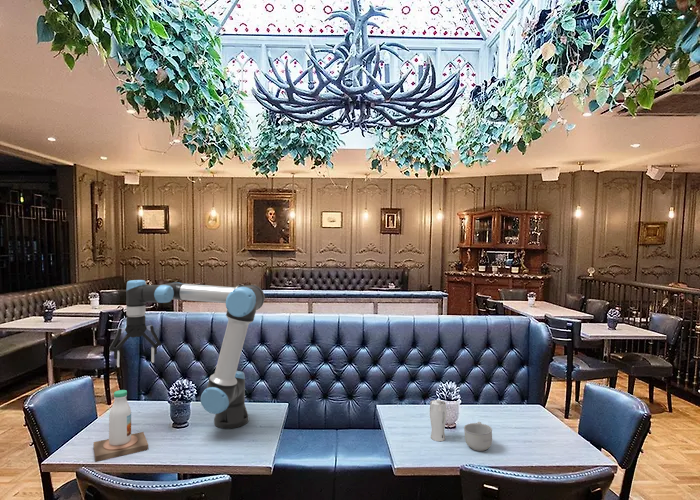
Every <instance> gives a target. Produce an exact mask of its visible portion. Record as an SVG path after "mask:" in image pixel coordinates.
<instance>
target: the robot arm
mask: <svg viewBox="0 0 700 500" xmlns="http://www.w3.org/2000/svg"><path fill="white" fill-rule="evenodd" d="M146 283H147V282H146V280H144V279H134V280H133V279H132V280H131V279H130V280H128V281H127V282H126V289H125V290H126V291H125V292H126V293H125V294H126V297H125V298H126V306H125V307H126V309H125V310H126V311H125V312H126V318H125V322H126V323H125V325H126V326H125V327H124V328H123V327H118V328H117V332H116V334H115V337H114V338H113V340H112V342H111V344H110V346H109V348H108V350H109V352H113V359H114V360H116V366H117V367H116V368H120V349H121V348H122V346H123V345H124V344H125V343H126V342H127V340H129V339H130V337H131V338H133V339H134V338H141V337H143V338H144V339H145V340H147V342H149V344H151V348H150V350H151V354H150V356H151V359H150V360H151V363H152V364H154V363H155V355H157V351H158V347H160V346H162V342H161V340H160V338H158V336H157V334H156V332H155V329H154V325H152V324H150V325H146V304H147V303H160V304H163V303H165V304H166V303H171V302H172V300H176V301H177V300H179V301H192V302H193V301H195V302H207V303H219V304H225V308H226V309H227V310H226V313H225V316H226V318H227V320H228V321H227V324H226V329H225V332H224V336H223V340H222V343H221V346H220V347H221V348H220V352H219V355H218V359H217V363H216V367H215V371H214V373H213V374H211V375H210V376H209V379H208V382H207V385H206V388H205V389H204V390H203V391H202V393H201V395H200V403H201V406H202V408H203V409H204V410H205V411H206V412H207V413H210V414H214V421H213V424H214V426H215V427H216V428H219V429H229V430H230V429H236V428H241V427H243V426H245V425H246V424H248V422H249V413H248V410H247V407H246V403H245V402H246V401H245V399H246V394H245V393H246V391H245V390H246V386H245V385H246V376H245V373H244V371H242V370H241V371H240V370H238V367H239V363H240V358H241V355H242V351H243V347H244V344H245V339H246V336H247V333H248V328H249V325H250V324H252V323H253V322H254V320H255V316H256V313H257V310H259V309H260V308H262V307H263V304H264V303H265V298H266V296H265V293H264V291H263V289H261V287H259V286H258V285H254V284H251V285H250V284H249V285H248V284H247V285H242V284H241V285H237V286H222V285H207V284H197V283H196V284H193V283H182V282H178V281H177V282H176V281H175V282H168V283H164V284H146ZM147 330H148V331H150V334H152V337H153V338H154V340H155V341H156V343H155V342H154V340H152V339H151V338H150V337H149V336H148V335H147V334H146V333H145V332H146V331H147ZM124 332H125V333H126V334H125V336H123V338H122V339H121V341H119V343H118V344H117V342H118V340H119V338H120V337H121V335H122V334H124ZM116 344H117V345H116Z"/></svg>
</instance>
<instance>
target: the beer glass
mask: <svg viewBox="0 0 700 500" xmlns="http://www.w3.org/2000/svg"><path fill="white" fill-rule="evenodd" d="M447 410H448V409H447V403H446V401H444V400H440V399H433V400H431V401H430V402H429V419H430V425H431V433H430V439H431V440H432V441H435V442H444V441H445V440H446V434H445V433H446V432H445V427H446V422H447V417H448V416H447V412H448V411H447Z"/></svg>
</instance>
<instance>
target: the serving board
mask: <svg viewBox="0 0 700 500" xmlns="http://www.w3.org/2000/svg"><path fill="white" fill-rule="evenodd" d="M147 449H148V450H149V442H148V440H147V438H146V435H145V432H144V431H140V432H134V433H131V440H130V441H129V442H128V443H126V444H123V445H118V446H113V445H110V444H109V438H107V439H102V440H98V441H94V442H93V455H94V462H97V463H98V462H101V461H104V460H110V459H113V458H119V457H122V456H126V455H131V454H135V453H139V452H144V450H145V451H148V450H147Z"/></svg>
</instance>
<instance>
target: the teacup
mask: <svg viewBox="0 0 700 500" xmlns="http://www.w3.org/2000/svg"><path fill="white" fill-rule="evenodd" d="M463 431H464V440H465V443H466V445H467V446H468V447H469V448H470V449H472V450H473V451H478V452H484V451H486V450H488V449H489V448H491V446H492V443H493V428H492V427H491V426H490V425H488V424H485V423H482V422H481V421H477V422H472V423H471V422H470V423H468V424H466V425H464V427H463Z"/></svg>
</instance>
